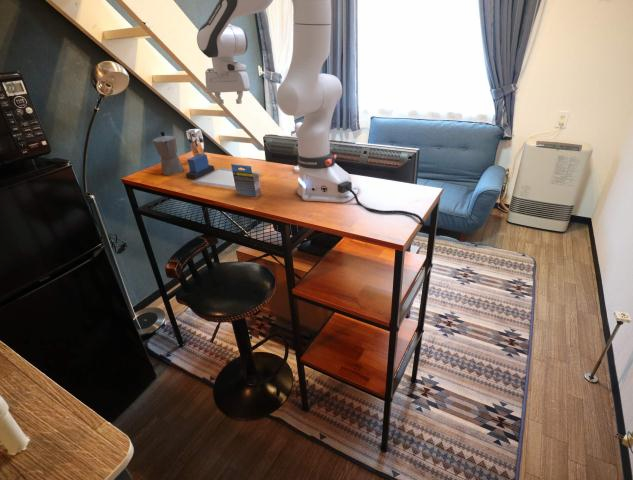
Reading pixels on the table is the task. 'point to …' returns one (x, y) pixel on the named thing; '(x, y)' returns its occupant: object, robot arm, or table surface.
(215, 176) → the whiteboard
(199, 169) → the eraser
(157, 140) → the coffeepot
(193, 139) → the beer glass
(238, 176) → the tape cartridge
